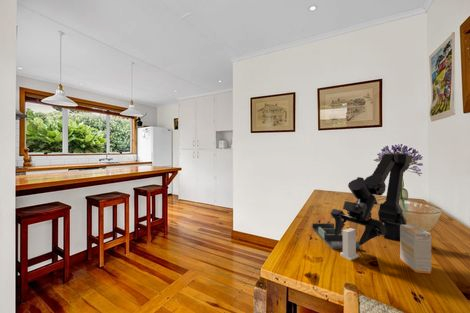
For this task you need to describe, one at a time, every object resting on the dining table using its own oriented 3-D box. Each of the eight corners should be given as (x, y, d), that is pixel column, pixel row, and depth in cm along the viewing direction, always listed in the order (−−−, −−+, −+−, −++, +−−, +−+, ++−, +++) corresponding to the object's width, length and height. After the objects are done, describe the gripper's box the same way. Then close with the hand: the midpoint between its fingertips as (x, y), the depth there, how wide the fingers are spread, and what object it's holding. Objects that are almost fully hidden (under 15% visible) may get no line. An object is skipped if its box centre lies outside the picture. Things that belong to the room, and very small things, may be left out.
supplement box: (432, 274, 63) (432, 233, 63) (415, 272, 64) (415, 232, 64) (414, 260, 71) (414, 224, 71) (399, 259, 72) (399, 223, 72)
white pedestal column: (348, 252, 78) (347, 227, 78) (358, 257, 74) (358, 230, 74) (340, 255, 76) (340, 229, 75) (350, 260, 72) (350, 233, 72)
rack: (333, 228, 102) (333, 221, 102) (359, 249, 80) (359, 239, 80) (312, 228, 103) (312, 221, 102) (332, 249, 81) (332, 239, 81)
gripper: (333, 189, 85) (315, 220, 80) (382, 198, 68) (364, 236, 63) (344, 205, 89) (328, 235, 83) (393, 217, 72) (377, 255, 67)
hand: (347, 239), depth 74 cm, fingers open, 9 cm apart
